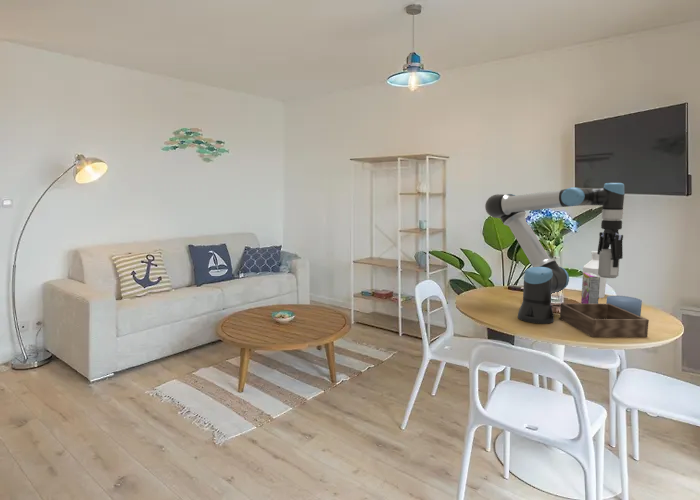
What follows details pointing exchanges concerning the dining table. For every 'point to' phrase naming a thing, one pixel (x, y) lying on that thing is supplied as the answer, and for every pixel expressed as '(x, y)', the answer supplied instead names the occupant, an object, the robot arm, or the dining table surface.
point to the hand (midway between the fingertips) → (608, 273)
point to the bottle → (595, 272)
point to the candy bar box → (590, 288)
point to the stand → (626, 303)
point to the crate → (604, 320)
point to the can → (605, 264)
